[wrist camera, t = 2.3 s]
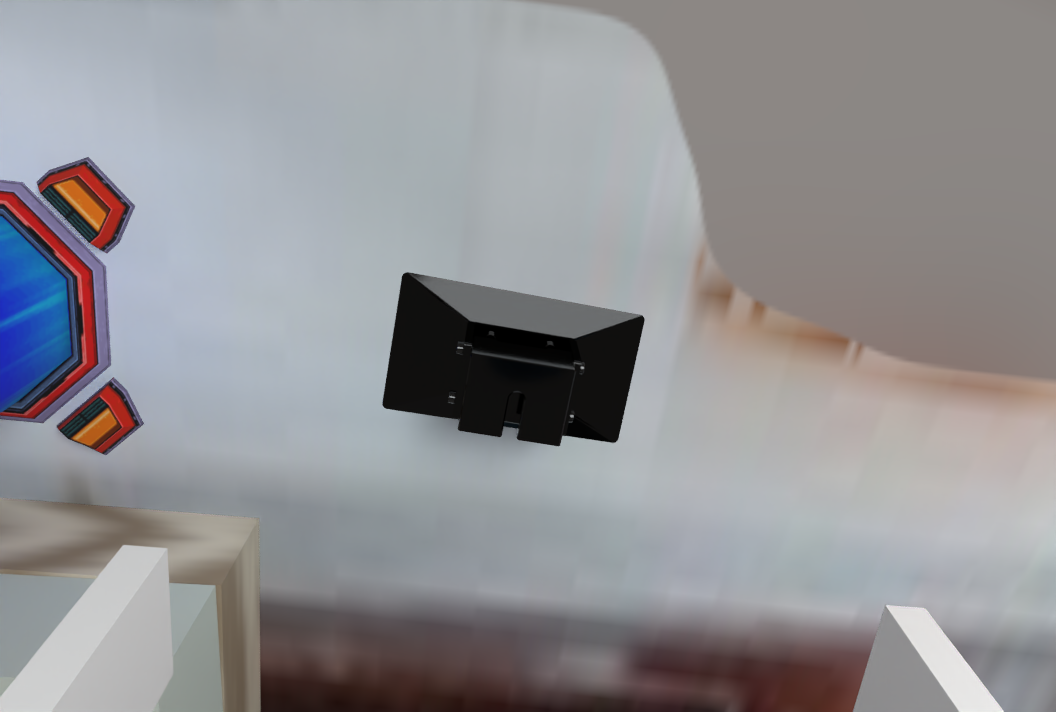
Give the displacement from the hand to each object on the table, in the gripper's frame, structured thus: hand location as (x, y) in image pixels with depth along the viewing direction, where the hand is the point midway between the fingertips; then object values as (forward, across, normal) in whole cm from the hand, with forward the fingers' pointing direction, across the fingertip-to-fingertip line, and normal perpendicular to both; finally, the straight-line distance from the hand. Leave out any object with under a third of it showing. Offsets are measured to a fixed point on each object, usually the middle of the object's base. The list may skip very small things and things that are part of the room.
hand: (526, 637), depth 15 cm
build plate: (+18, 0, +1) cm, 18 cm away
